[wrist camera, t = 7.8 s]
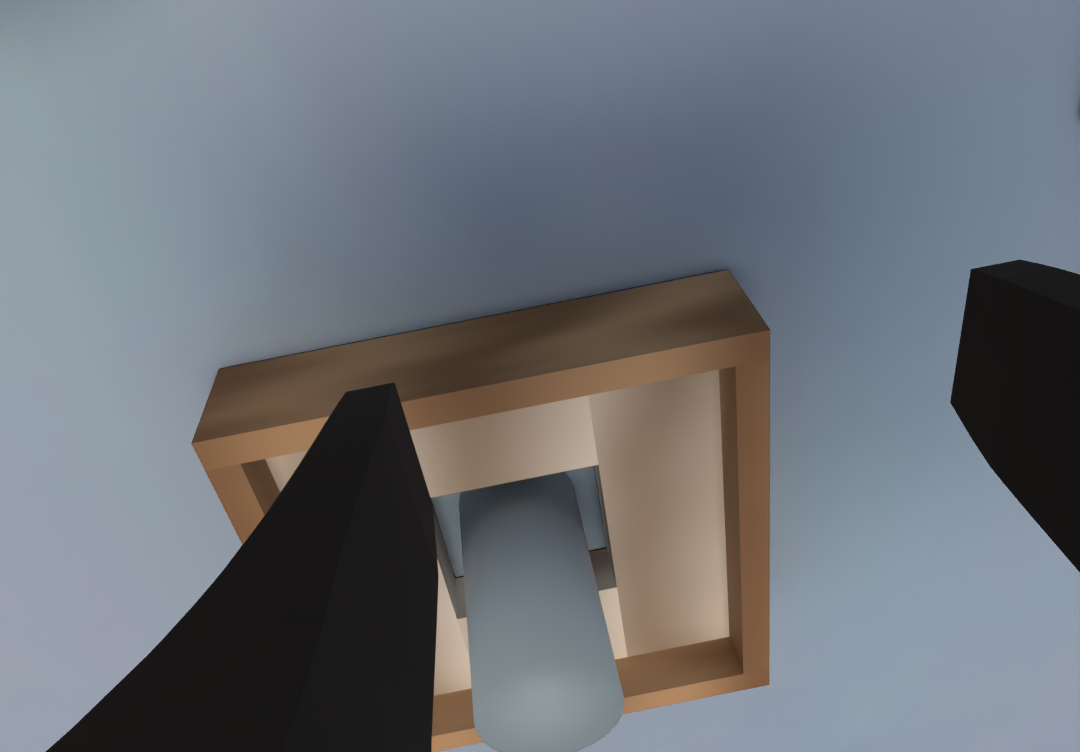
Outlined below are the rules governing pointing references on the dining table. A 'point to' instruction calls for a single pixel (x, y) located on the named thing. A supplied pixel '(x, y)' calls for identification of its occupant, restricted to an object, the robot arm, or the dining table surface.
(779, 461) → the dining table surface
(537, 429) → the tray box
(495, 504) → the peg
